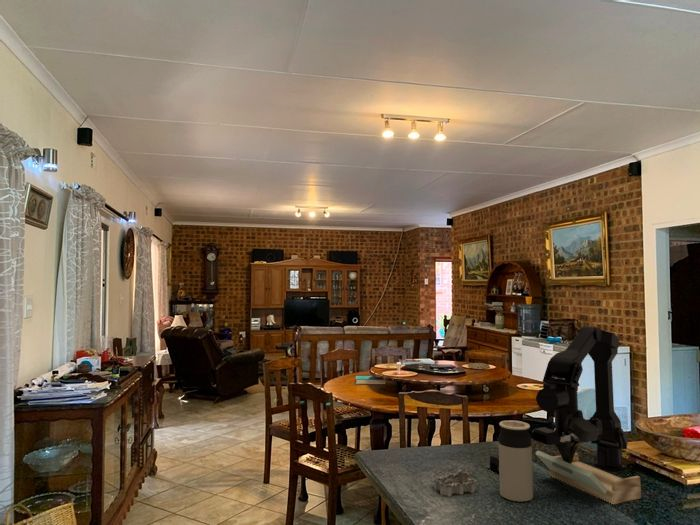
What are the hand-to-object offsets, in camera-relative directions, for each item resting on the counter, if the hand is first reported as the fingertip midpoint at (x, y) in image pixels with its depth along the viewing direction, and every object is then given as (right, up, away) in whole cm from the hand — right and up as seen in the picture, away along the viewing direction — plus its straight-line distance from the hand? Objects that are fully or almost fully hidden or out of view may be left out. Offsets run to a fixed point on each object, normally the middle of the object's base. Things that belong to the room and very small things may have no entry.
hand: (568, 466), depth 126 cm
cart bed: (+8, -7, +3) cm, 11 cm away
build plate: (-14, -8, +15) cm, 22 cm away
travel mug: (-15, -7, -3) cm, 16 cm away
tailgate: (+3, -4, +1) cm, 5 cm away
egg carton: (-29, -7, +1) cm, 30 cm away
